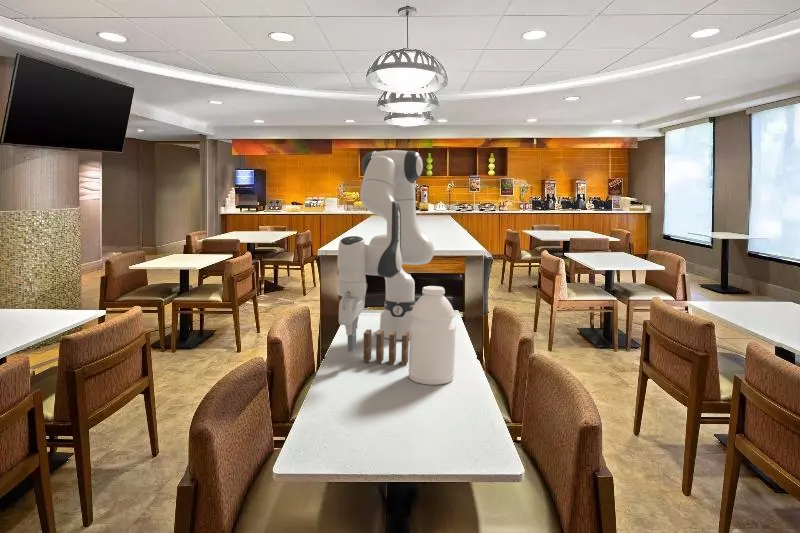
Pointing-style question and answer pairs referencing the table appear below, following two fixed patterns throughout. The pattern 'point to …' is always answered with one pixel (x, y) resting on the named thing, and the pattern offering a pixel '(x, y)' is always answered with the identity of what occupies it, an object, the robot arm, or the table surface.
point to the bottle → (432, 338)
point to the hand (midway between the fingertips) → (351, 331)
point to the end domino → (352, 338)
